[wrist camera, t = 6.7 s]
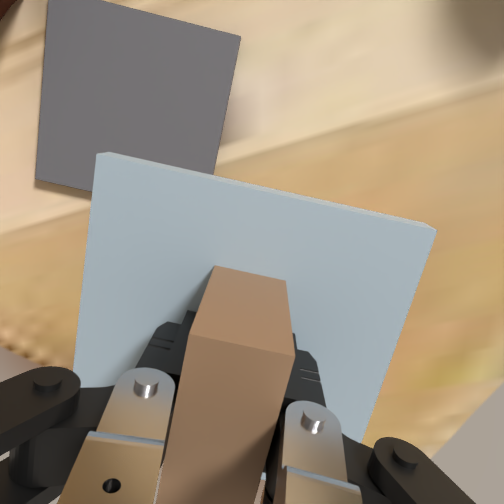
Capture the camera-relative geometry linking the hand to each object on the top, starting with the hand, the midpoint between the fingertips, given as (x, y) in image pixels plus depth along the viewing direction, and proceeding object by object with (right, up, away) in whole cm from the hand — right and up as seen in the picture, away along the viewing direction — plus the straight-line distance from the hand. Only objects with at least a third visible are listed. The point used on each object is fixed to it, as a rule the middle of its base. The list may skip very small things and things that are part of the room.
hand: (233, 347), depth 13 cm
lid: (0, 0, +1) cm, 1 cm away
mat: (-7, +13, +15) cm, 21 cm away
